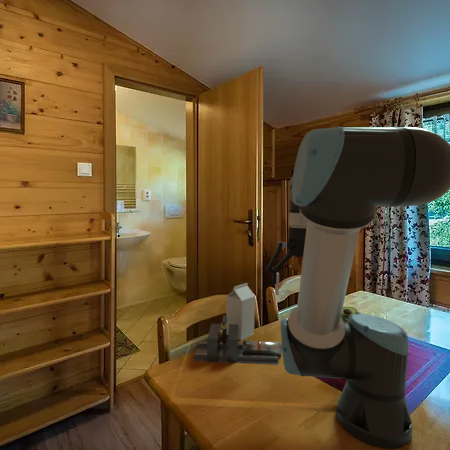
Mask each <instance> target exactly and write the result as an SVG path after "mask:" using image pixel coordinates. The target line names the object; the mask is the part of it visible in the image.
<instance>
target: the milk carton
mask: <svg viewBox="0 0 450 450" xmlns="http://www.w3.org/2000/svg"><path fill="white" fill-rule="evenodd" d="M255 301H256V296H255V294H254V293H253V291H252V289H250V287H249V286H248V282H245V283H242V284H238V285H235V286H233V289H232V291H231V292H230V293H228V294H227V295H226V305H225V307H226V310H225V311H226V312H225V313H226V314H225V315H227V336H228V332H229V324H237V325H239V328H238V341H244V340H246V339H247V338H249V337H251V336H253V335H254V334H255V309H256V308H255V307H256V305H255V303H256V302H255Z"/></svg>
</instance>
